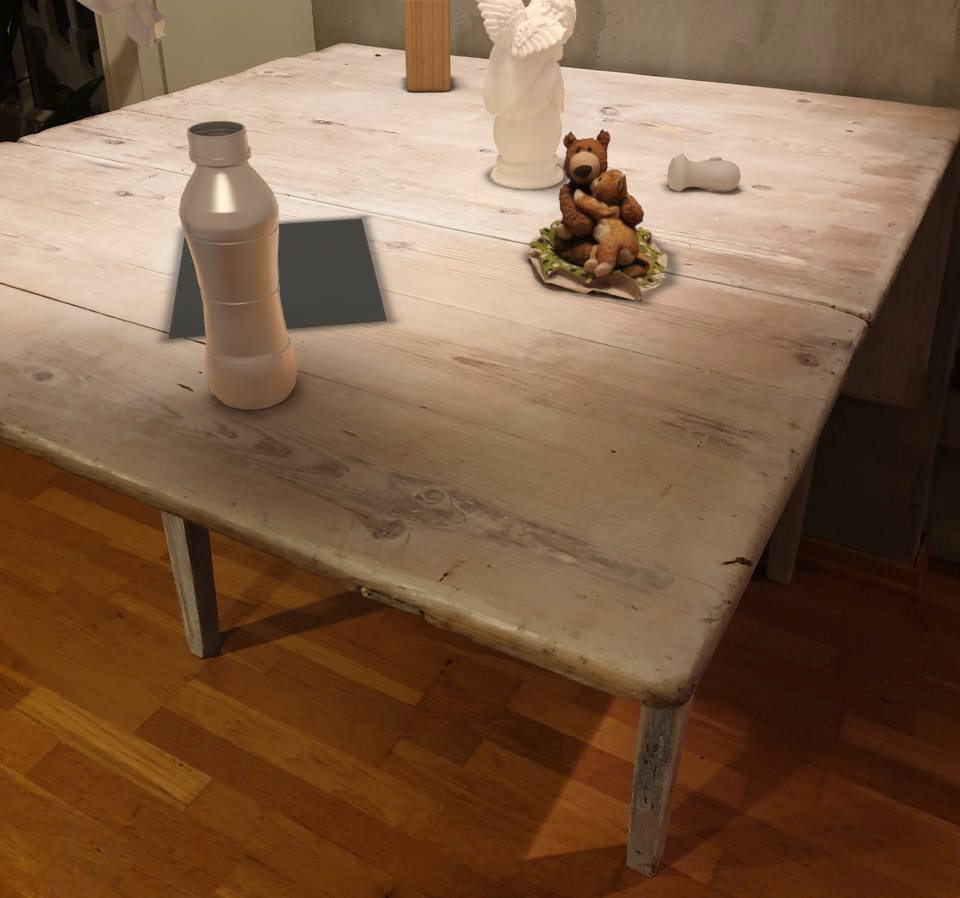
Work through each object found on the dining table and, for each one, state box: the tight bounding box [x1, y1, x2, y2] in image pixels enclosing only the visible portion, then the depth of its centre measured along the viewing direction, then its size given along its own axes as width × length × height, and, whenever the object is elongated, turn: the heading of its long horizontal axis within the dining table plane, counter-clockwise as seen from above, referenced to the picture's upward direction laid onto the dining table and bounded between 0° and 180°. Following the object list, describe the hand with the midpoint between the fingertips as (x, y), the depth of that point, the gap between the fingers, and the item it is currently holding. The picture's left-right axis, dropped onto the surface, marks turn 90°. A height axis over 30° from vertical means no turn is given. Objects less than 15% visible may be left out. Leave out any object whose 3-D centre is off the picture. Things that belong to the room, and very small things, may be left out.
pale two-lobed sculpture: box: [666, 153, 742, 193], centre depth 109 cm, size 4×8×5 cm
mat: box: [168, 218, 388, 340], centre depth 91 cm, size 18×24×1 cm
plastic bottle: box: [178, 120, 298, 411], centre depth 67 cm, size 6×7×20 cm
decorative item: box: [402, 0, 452, 93], centre depth 142 cm, size 7×7×20 cm
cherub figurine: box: [475, 0, 577, 190], centre depth 105 cm, size 12×12×22 cm
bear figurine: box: [526, 128, 669, 302], centre depth 89 cm, size 14×15×12 cm
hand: (200, 7), depth 61 cm, fingers open, 8 cm apart
